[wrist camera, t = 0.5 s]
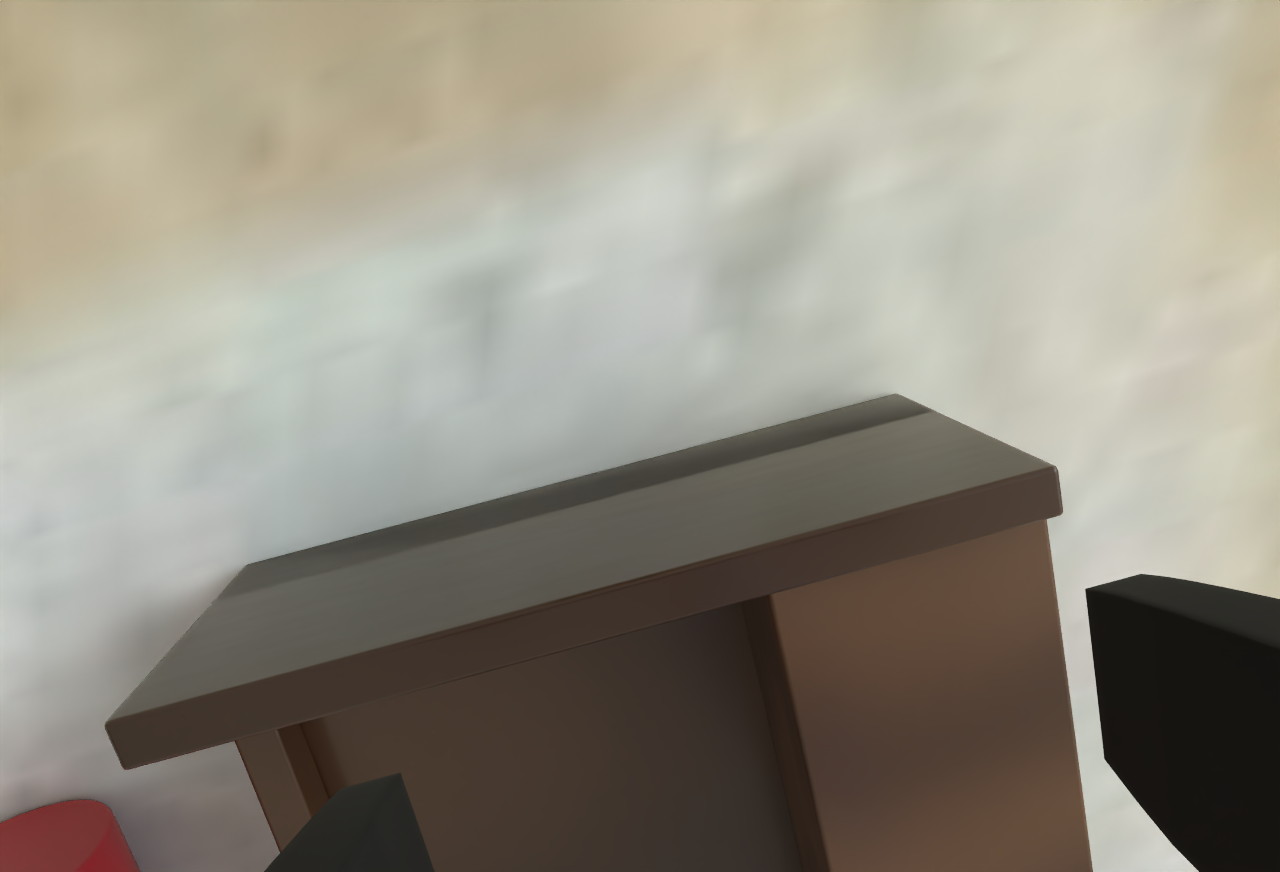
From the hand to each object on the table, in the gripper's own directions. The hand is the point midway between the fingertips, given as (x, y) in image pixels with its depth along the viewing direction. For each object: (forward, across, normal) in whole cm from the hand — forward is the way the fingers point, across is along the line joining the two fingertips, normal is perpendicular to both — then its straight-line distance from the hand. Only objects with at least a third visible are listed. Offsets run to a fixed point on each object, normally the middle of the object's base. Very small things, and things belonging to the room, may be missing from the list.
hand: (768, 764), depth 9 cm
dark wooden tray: (+10, +1, +8) cm, 13 cm away
